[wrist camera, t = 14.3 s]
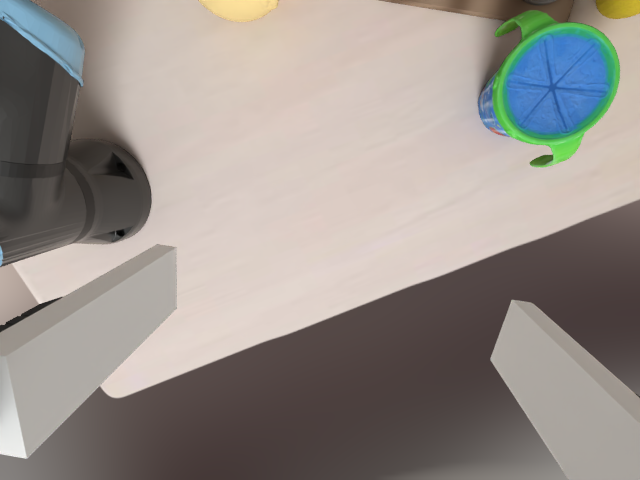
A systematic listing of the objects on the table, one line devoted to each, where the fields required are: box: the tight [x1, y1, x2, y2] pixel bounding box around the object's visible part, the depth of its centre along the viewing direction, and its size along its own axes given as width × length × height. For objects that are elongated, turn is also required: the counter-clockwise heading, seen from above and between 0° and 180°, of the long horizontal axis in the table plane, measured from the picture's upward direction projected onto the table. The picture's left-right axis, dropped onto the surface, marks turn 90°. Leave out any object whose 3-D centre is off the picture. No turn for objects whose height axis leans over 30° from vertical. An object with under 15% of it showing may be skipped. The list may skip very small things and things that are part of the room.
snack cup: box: [478, 10, 620, 167], centre depth 34 cm, size 16×10×10 cm
